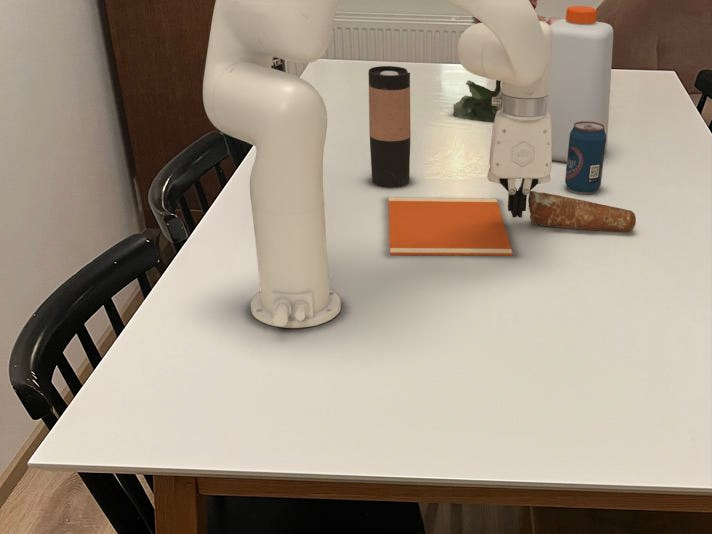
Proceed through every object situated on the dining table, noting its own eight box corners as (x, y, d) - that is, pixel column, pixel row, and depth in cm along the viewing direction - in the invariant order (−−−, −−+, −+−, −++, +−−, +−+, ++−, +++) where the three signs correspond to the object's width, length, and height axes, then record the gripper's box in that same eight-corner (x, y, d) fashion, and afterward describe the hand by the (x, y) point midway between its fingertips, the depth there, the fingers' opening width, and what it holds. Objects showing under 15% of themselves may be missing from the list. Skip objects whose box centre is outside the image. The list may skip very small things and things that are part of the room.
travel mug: (362, 182, 177) (359, 71, 165) (384, 172, 182) (382, 63, 171) (397, 190, 174) (395, 77, 162) (417, 179, 180) (418, 69, 168)
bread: (527, 217, 166) (530, 186, 163) (634, 227, 164) (638, 196, 161) (524, 229, 161) (526, 197, 158) (634, 240, 159) (638, 208, 156)
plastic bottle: (523, 157, 194) (534, 10, 178) (543, 139, 206) (554, -1, 189) (594, 168, 190) (611, 18, 174) (609, 148, 202) (627, 6, 186)
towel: (512, 255, 151) (512, 253, 151) (390, 254, 149) (390, 252, 149) (496, 200, 172) (496, 198, 172) (388, 199, 170) (388, 197, 170)
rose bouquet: (572, 129, 213) (586, -17, 195) (447, 118, 216) (450, -27, 198) (579, 102, 234) (593, -33, 216) (466, 92, 237) (470, -42, 219)
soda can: (557, 185, 181) (563, 122, 174) (587, 181, 183) (594, 118, 176) (576, 197, 176) (583, 132, 169) (607, 192, 178) (615, 128, 171)
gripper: (480, 110, 147) (475, 222, 157) (573, 111, 148) (562, 223, 159) (475, 98, 153) (471, 207, 163) (564, 99, 154) (555, 207, 165)
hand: (516, 214), depth 161 cm, fingers closed
